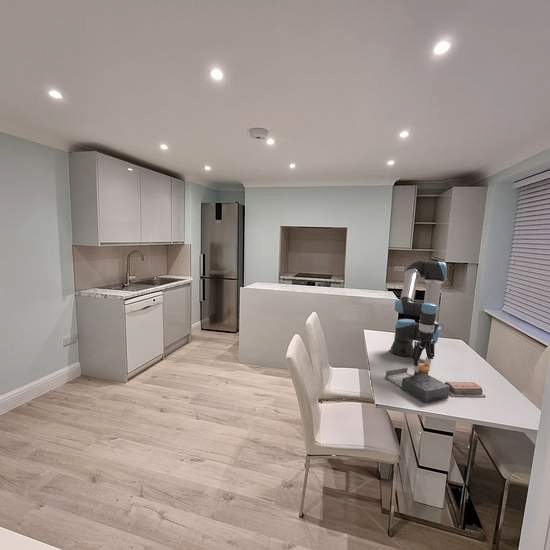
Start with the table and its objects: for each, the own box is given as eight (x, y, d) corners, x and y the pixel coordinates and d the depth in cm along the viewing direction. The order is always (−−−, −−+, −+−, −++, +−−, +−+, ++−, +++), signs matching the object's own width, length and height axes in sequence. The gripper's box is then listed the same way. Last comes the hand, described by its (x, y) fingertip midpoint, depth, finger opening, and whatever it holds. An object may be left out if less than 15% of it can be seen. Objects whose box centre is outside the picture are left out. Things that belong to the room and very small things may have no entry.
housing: (401, 388, 153) (402, 377, 152) (423, 384, 159) (424, 373, 158) (424, 403, 140) (426, 391, 139) (448, 397, 146) (449, 386, 146)
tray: (384, 378, 164) (385, 370, 163) (404, 374, 170) (405, 367, 169) (405, 390, 151) (406, 382, 150) (426, 386, 157) (427, 378, 156)
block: (413, 375, 169) (414, 367, 168) (420, 374, 171) (421, 366, 170) (421, 379, 164) (422, 371, 164) (427, 378, 166) (428, 369, 166)
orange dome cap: (410, 366, 169) (411, 363, 169) (420, 364, 172) (421, 362, 172) (422, 372, 162) (423, 369, 162) (432, 370, 165) (433, 367, 165)
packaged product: (472, 379, 158) (486, 389, 148) (471, 388, 159) (485, 398, 149) (440, 378, 157) (452, 388, 147) (439, 387, 157) (451, 397, 147)
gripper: (418, 334, 157) (413, 375, 160) (445, 331, 165) (440, 370, 168) (407, 330, 164) (402, 369, 166) (433, 327, 172) (428, 365, 175)
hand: (421, 370), depth 167 cm, fingers closed on orange dome cap, 8 cm apart
